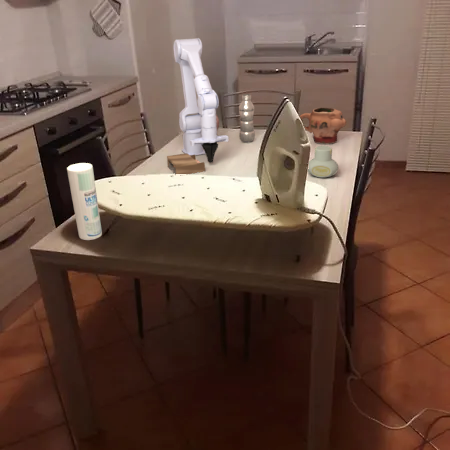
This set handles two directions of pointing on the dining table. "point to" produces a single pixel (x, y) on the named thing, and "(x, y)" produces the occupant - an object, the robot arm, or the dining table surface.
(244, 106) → the plastic bottle
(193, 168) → the cubby
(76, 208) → the spray can
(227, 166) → the dining table surface
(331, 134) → the decorative planter
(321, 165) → the air freshener
